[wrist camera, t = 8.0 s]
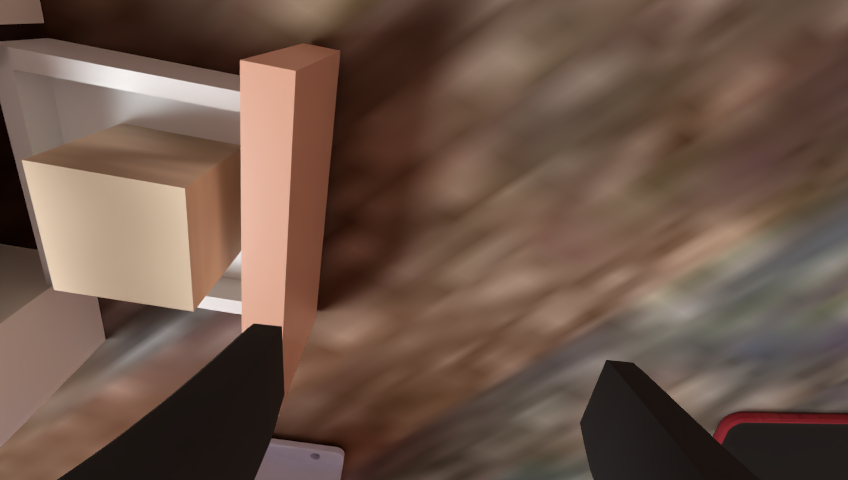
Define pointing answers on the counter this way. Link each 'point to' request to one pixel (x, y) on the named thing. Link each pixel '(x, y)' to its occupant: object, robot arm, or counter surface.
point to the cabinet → (37, 312)
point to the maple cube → (138, 214)
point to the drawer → (210, 119)
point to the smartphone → (788, 444)
